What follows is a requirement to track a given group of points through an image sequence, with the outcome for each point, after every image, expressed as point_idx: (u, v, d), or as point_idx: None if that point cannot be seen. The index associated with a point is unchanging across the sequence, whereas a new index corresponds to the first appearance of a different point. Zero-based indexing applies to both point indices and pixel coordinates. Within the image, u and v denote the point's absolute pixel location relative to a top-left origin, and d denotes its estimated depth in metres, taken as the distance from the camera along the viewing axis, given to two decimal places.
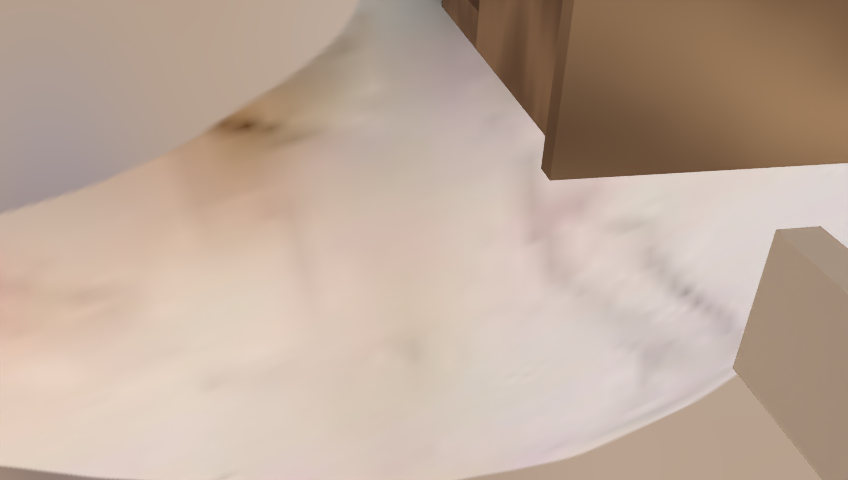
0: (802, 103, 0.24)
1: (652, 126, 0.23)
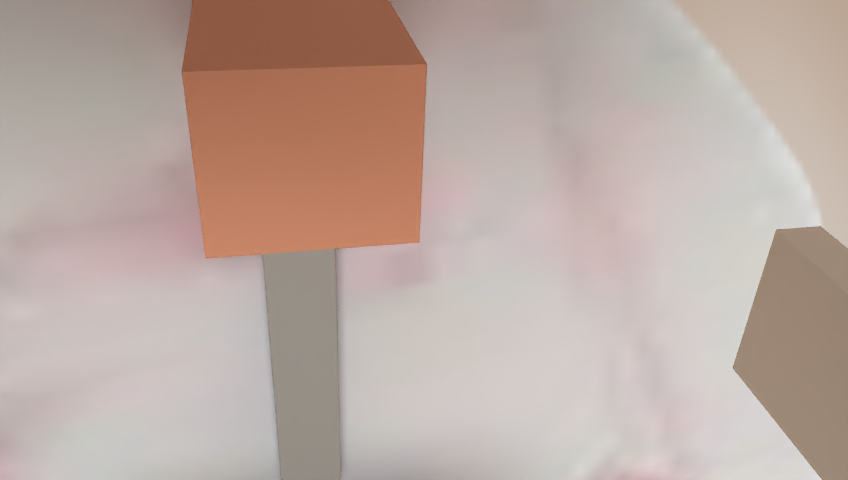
0: None
1: None
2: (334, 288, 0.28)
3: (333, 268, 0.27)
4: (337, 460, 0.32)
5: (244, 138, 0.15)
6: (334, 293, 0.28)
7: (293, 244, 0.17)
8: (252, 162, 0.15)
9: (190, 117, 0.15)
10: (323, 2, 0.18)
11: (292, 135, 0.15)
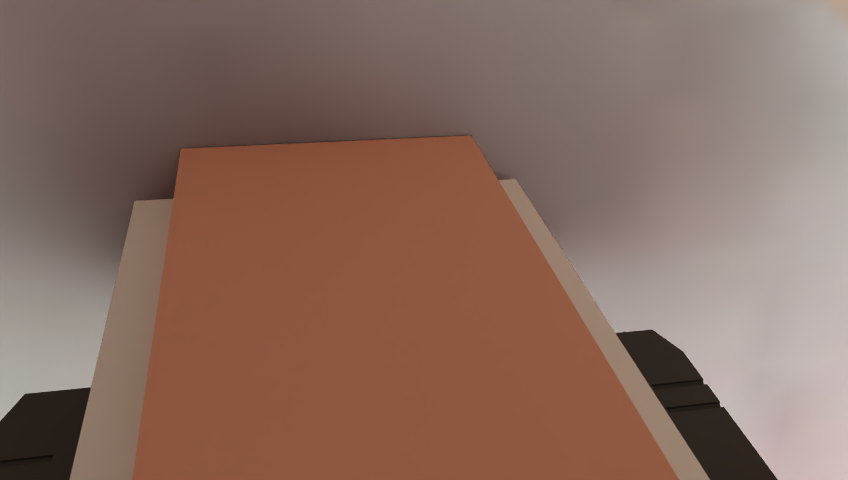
0: None
1: None
2: None
3: None
4: None
5: None
6: None
7: None
8: None
9: None
10: (458, 374, 0.08)
11: None
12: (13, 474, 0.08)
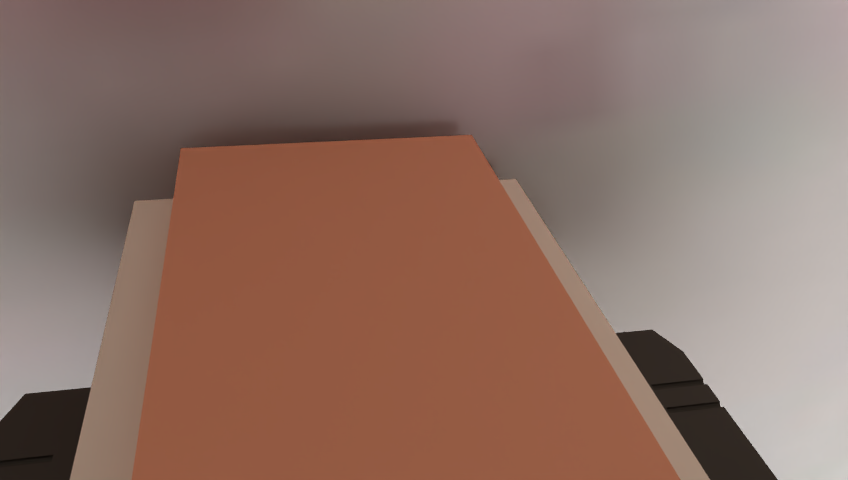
0: None
1: None
2: None
3: None
4: None
5: None
6: None
7: None
8: None
9: None
10: (458, 373, 0.08)
11: None
12: (13, 474, 0.08)
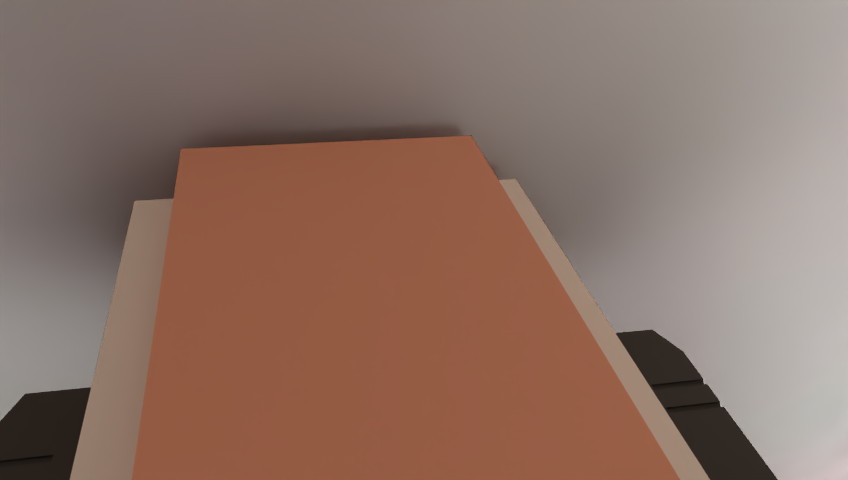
0: None
1: None
2: None
3: None
4: None
5: None
6: None
7: None
8: None
9: None
10: (458, 373, 0.08)
11: None
12: (13, 474, 0.08)
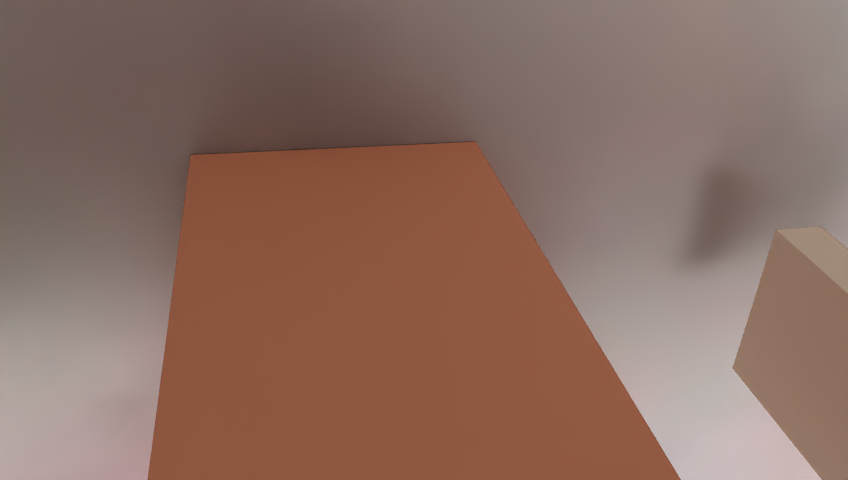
0: None
1: None
2: None
3: None
4: None
5: None
6: None
7: None
8: None
9: None
10: (463, 375, 0.08)
11: None
12: None
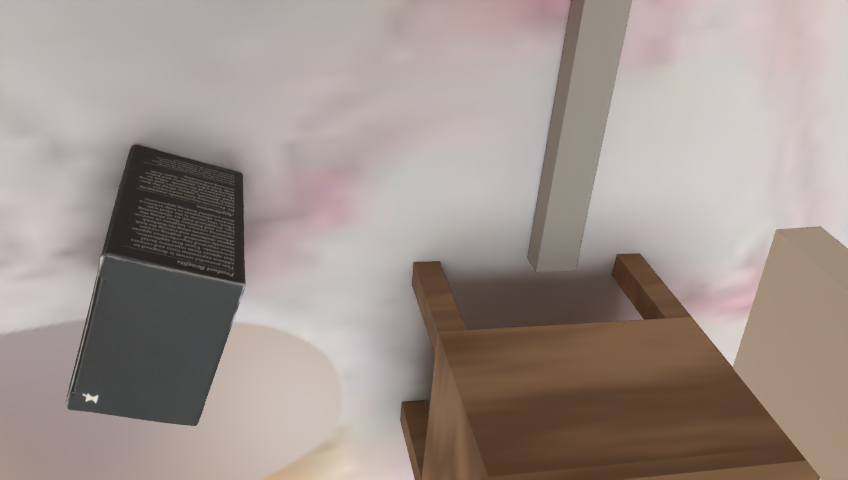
0: None
1: None
2: (612, 87, 0.40)
3: (615, 71, 0.39)
4: (581, 233, 0.44)
5: None
6: (611, 92, 0.40)
7: None
8: None
9: None
10: None
11: None
12: None
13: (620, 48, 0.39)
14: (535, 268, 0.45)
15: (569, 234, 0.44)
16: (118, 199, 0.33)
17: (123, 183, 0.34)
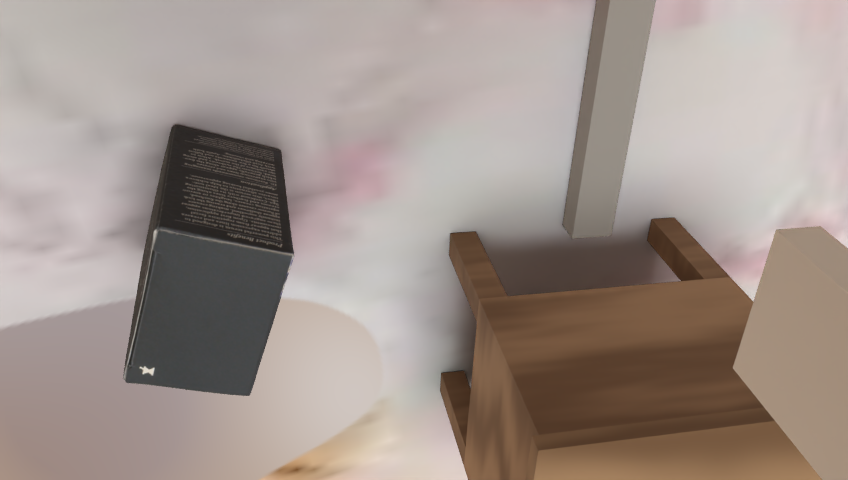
0: None
1: None
2: (645, 50, 0.40)
3: (648, 34, 0.40)
4: (616, 198, 0.44)
5: None
6: (644, 54, 0.40)
7: None
8: None
9: None
10: None
11: None
12: None
13: (652, 10, 0.39)
14: (571, 234, 0.45)
15: (604, 199, 0.44)
16: (165, 176, 0.34)
17: (168, 161, 0.35)
